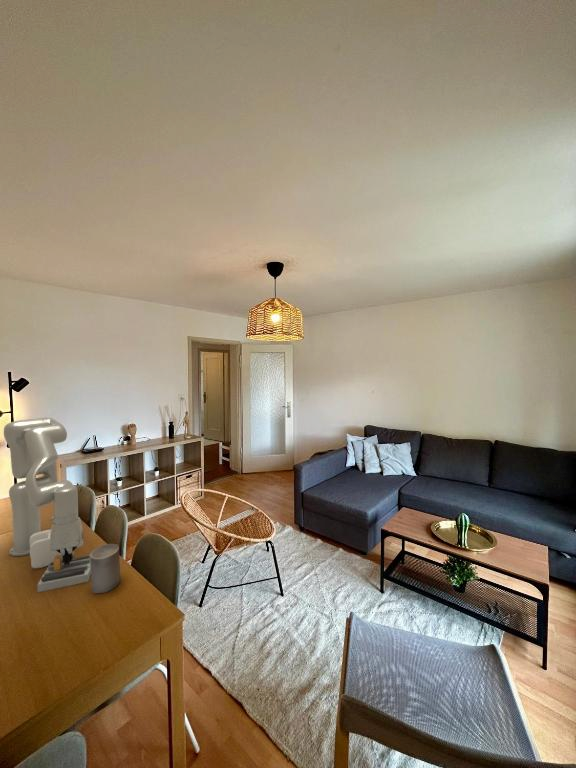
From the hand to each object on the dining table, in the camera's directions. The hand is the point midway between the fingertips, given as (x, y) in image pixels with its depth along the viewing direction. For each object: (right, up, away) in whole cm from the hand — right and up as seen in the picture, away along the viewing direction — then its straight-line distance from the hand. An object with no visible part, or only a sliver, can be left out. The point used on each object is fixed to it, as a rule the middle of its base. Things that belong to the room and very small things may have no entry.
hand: (67, 562), depth 121 cm
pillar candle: (+18, -7, -4) cm, 19 cm away
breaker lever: (-3, -3, -1) cm, 4 cm away
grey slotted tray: (0, -6, 0) cm, 6 cm away
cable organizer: (-15, -6, +12) cm, 20 cm away
